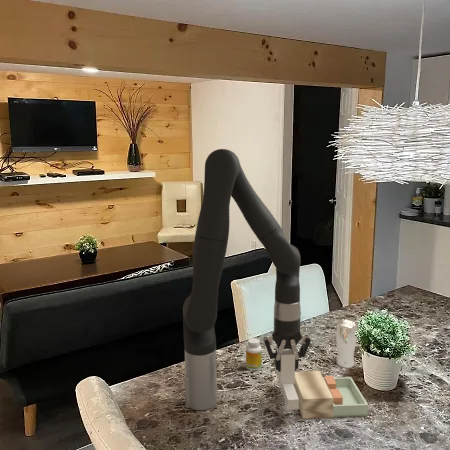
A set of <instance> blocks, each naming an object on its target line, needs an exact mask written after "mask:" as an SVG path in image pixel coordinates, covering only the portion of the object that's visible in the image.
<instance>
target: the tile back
mask: <svg viewBox="0 0 450 450" xmlns="http://www.w3.org/2000/svg"><path fill="white" fill-rule="evenodd" d="M324 378H325V382H326V384H327V386H328V388H329V390H330V389H336V382H335V380H334V378H335V377H334V376H333V375H325V376H324Z"/></svg>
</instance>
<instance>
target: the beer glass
mask: <svg viewBox="0 0 450 450" xmlns="http://www.w3.org/2000/svg"><path fill="white" fill-rule="evenodd" d="M356 330H357V331H358V323H357V322H356V321H354V320H352V319H339V320H338V321H337V322H336V334H335V335H336V336H335V337H336V338H335V339H336V347H337V358H336V365H337V366H339V368H344V369H350V368H351V369H352V368H353V367H354V366H355V357H354V355H355V350H356V346H357V341H358V336H357V337H356V336H355V331H356Z"/></svg>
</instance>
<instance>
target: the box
mask: <svg viewBox="0 0 450 450" xmlns="http://www.w3.org/2000/svg"><path fill="white" fill-rule="evenodd" d="M323 378H324V380H325V377H323ZM333 378H334V380H335V382H336V389H339V391H340V393H341V395H342V397H343V405H335V404H334V402H333V417H332V418H352V417H354V418H355V417H368V414H369V404H368V402H367V400H366V398H365V397H364V395H363V394H362V393H361V391H360V389H359V387H358V386H357V385H356V383H355V381H354V380H353V377H352V376H348V377H347V376H346V377H333Z"/></svg>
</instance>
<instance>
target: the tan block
mask: <svg viewBox="0 0 450 450" xmlns="http://www.w3.org/2000/svg"><path fill="white" fill-rule="evenodd" d="M324 378H325V377H324V376H323V374H322V372H321V370H313V371H312V370H309V371H307V370H306V371H295V384H293V385H294V388H295V391H296V393H297V396H298V399H299V409H298V410H299V411H300V412H299V413H300V415H301V417H302V419H303V420H304V419H320V418H321V419H322V418H323V419H326V418H327V419H328V418H330V419H331V418H334V417H333V396H332V394H331V392H330V390H329V388H328V386H327V384H326V382H325V380H324Z"/></svg>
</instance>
